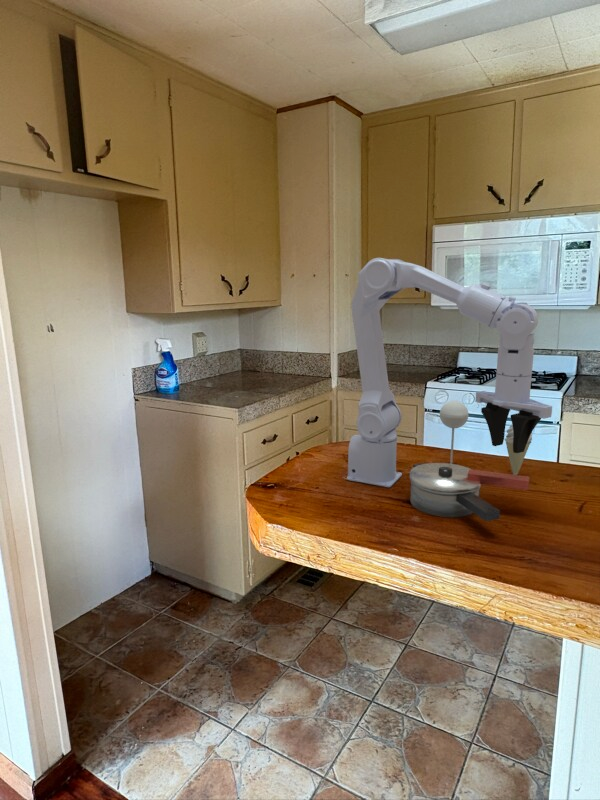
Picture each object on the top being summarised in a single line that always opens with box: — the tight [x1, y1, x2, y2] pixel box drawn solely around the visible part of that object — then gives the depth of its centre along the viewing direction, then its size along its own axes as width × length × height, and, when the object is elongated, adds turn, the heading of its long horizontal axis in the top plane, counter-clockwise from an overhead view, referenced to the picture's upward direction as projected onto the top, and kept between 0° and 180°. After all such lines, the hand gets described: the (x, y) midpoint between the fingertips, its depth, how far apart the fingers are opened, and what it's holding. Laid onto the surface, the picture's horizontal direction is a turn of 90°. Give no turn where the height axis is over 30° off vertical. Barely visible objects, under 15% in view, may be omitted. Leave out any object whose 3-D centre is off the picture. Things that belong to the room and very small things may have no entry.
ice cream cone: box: [504, 424, 533, 475], centre depth 107 cm, size 5×5×15 cm
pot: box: [409, 462, 501, 522], centre depth 95 cm, size 18×18×5 cm
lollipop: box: [439, 400, 470, 464], centre depth 113 cm, size 6×6×15 cm
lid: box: [409, 462, 530, 492], centre depth 94 cm, size 20×13×2 cm, turn 67°
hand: (507, 448), depth 95 cm, fingers open, 4 cm apart
